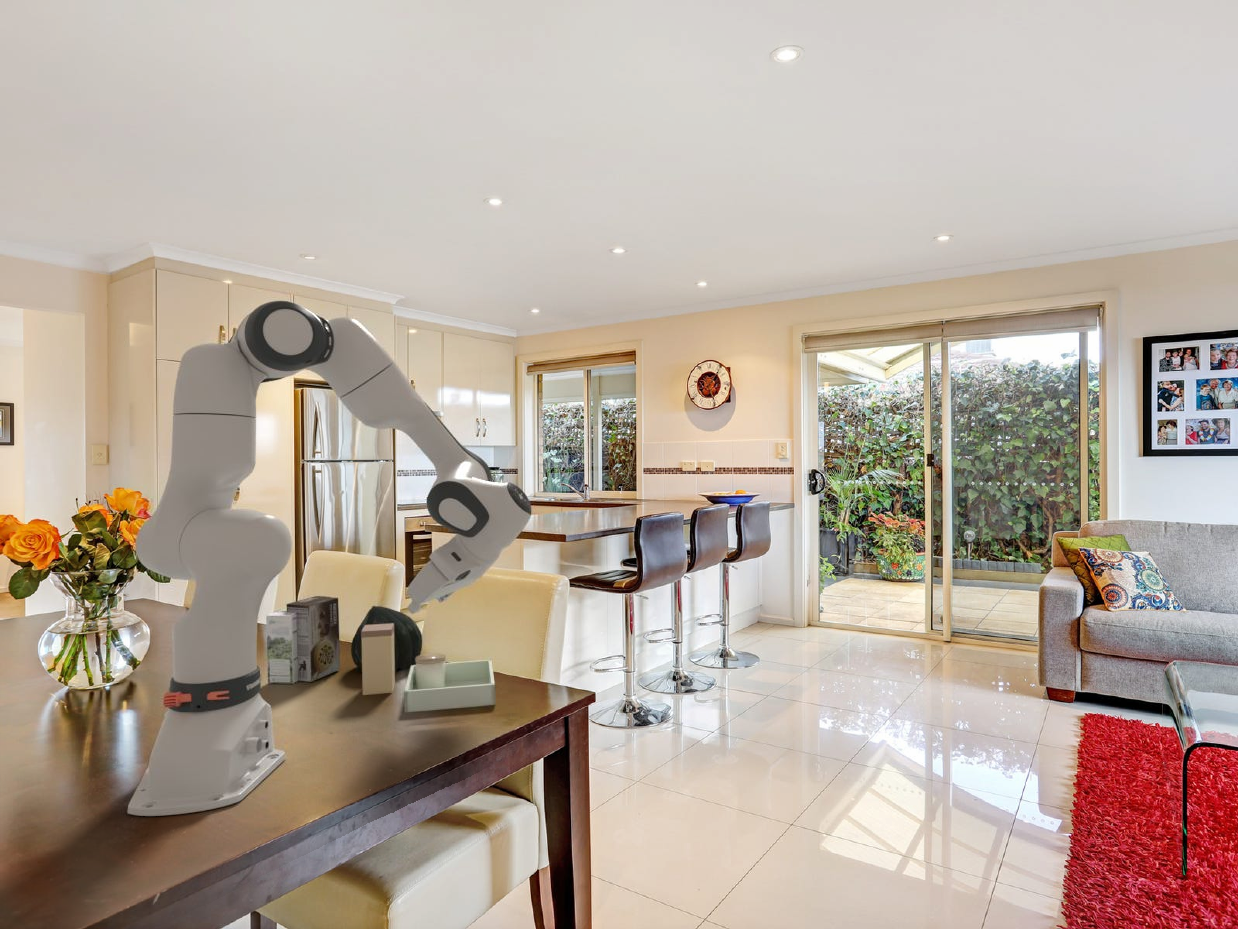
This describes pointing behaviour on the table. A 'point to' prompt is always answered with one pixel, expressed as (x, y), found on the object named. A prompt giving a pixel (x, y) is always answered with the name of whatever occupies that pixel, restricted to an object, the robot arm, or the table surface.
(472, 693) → the tray
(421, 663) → the jar
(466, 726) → the table surface
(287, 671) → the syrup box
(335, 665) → the coffee box
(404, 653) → the squash
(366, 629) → the carton
